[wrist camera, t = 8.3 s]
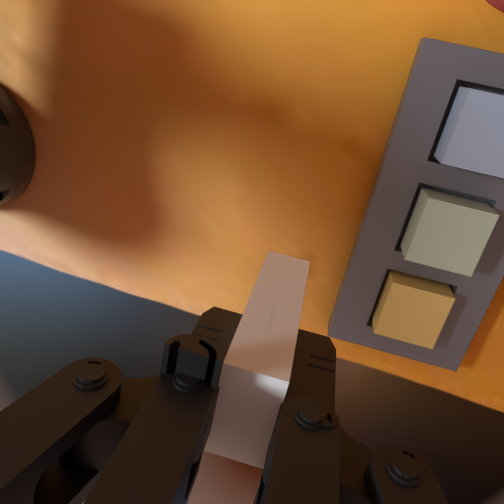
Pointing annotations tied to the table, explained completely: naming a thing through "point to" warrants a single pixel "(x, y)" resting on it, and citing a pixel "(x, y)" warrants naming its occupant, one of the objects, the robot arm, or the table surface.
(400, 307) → the ochre button
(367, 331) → the button board
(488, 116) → the blue button
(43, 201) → the table surface
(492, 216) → the sage button
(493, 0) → the flower pot
